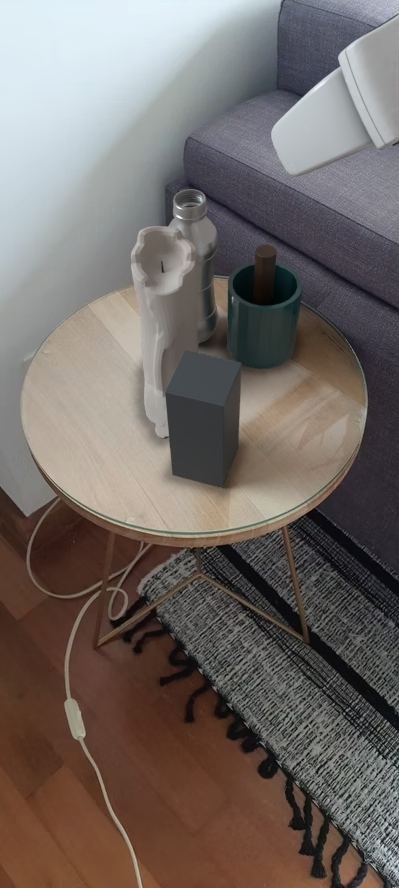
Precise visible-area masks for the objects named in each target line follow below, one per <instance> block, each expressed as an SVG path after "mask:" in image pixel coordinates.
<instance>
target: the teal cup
mask: <svg viewBox="0 0 399 888" xmlns="http://www.w3.org/2000/svg"><path fill="white" fill-rule="evenodd" d="M254 268H255V260H254V261H250V262H246V263H244V264H242V265H240V266H238V267H237V268H235V269H234V270H233V271H232V272H231V273H230V275H229V277H228V279H227V302H226V304H227V305H226V309H227V310H226V348H227V351H228V353H229V355H230V356H231V358H232V359H233V360H234V361H236V362H241V363H242V366H245V367H247V368H251V369H255V370H267V369H273V368H276V367H280V366H281V365H283V364H284V363H286V362H288V361H289V359H290V358H291V357H292V356H293V354H294V352H295V348H296V346H295V345H296V342H297V333H298V327H299V317H300V309H301V302H302V294H303V281H302V278H301V277H300V275H299V274H298V272H297V271H296V270H294V269H293V268H292V267H290V266H289V265H286V264H284V263H282V262H279V261H276V265H275V277H274V289H273V301H272V306H260V305H256V304H253V286H254Z"/></svg>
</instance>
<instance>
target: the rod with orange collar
mask: <svg viewBox="0 0 399 888" xmlns="http://www.w3.org/2000/svg"><path fill="white" fill-rule="evenodd" d="M277 253H278V252H277V249H276V247H275V246H273V245H271V244H260V245H258V246H257V247H256V248H255V252H254V261H255V268H254V286H253V304H256V305H260V306H272V301H273V289H274V277H275V265H276V262H277Z"/></svg>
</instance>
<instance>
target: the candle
mask: <svg viewBox="0 0 399 888" xmlns="http://www.w3.org/2000/svg"><path fill="white" fill-rule="evenodd" d="M168 226H169V225H168ZM168 226H166V225H165V226H163V225H152V226H148V227H145V228H142V229H140V230H139V231H138V234H137V238H136V243H135V245H134V247H133V248H132V250H131V253H130V262H131V263H130V264H131V265H130V269H131V270H130V271H131V275H132V281H133V285H134V290H135V291H134V292H135V295H136V296H135V297H136V300H137V306H138V312H139V321H140V341H141V342H140V345H141V346H140V347H141V349H140V350H141V359H142V368H143V369H142V371H143V377H144V387H143V403H144V408H145V409H144V410H145V415H146V417H147V418H148V420H149V421H150V422H151V423H152V424H155V429H154V430H155V433H156V436H158V437H159V438H161V439H165V438H167V437H169V431H168V420H167V408H166V397H165V391H166V389H167V387H168V385H169V383H170V381H171V379H172V376H173V374H174V372H175V370H176V368H177V366H178V364H179V362H180V360H181V358H182V356H183V354H184V352H185V350H187V351H192V352H196V353H200V348H199V344H198V338H197V321H198V293H197V276H196V250H195V247H194V246H193V244H192V243H191V242H190V241H189V240H187V239H186V238H185V237H184V236H183V235H182V232H181V231H180V230H179V229H178V228H175V227H168Z"/></svg>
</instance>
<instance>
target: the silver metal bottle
mask: <svg viewBox="0 0 399 888" xmlns="http://www.w3.org/2000/svg"><path fill="white" fill-rule="evenodd" d="M172 202H173V208H172V215H173V217H174V218H173V219H172V220H171V221H170V222H169V224H168V227H175V228H178V229H179V230H180V231H181V232H182V235H183V236H184V237H185V238H186V239H187V240H189V241H190V242H191V243H192V244H193V246H194V247H195V250H196V276H197V293H198V321H197V338H198V345H199V344H202V343H204V342H207V341H208V340H209V339H210V338H211V337H212V336H213V335H214V334H215V333H216V330H217V327H218V324H219V312H218V305H217V302H216V297H215V285H214V284H215V266H216V259H217V253H218V249H219V239H220V238H219V233H218V230H217V228H216V225H214V223H213V222H212V220H211V219H210V218H209V217H208V216H207V215H208V207H207V198H206V195H205V194H204V192H202V191H201V190H198V189H194V188H193V189H192V188H191V189H189V188H187V189H182V190H181V191H179V192H177V193H176V194H175V195H174V196H173V200H172Z"/></svg>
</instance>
